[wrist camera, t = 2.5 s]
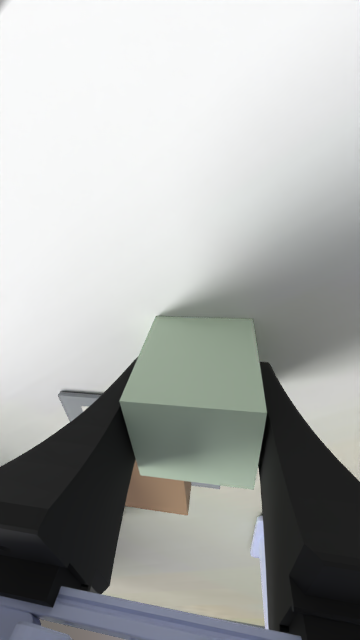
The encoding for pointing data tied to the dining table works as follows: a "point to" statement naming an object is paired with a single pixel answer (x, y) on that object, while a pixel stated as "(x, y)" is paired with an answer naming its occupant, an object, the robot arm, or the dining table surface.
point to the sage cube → (197, 401)
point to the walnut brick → (158, 493)
